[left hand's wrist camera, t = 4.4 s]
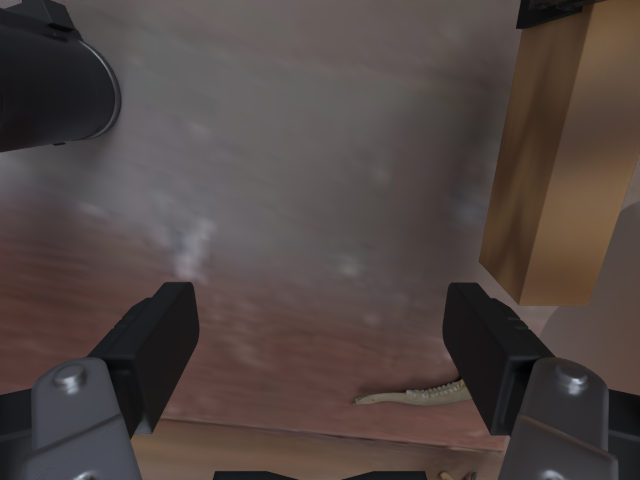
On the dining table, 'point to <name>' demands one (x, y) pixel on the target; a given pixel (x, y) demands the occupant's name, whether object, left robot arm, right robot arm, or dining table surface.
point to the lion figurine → (444, 476)
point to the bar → (565, 154)
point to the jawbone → (422, 396)
